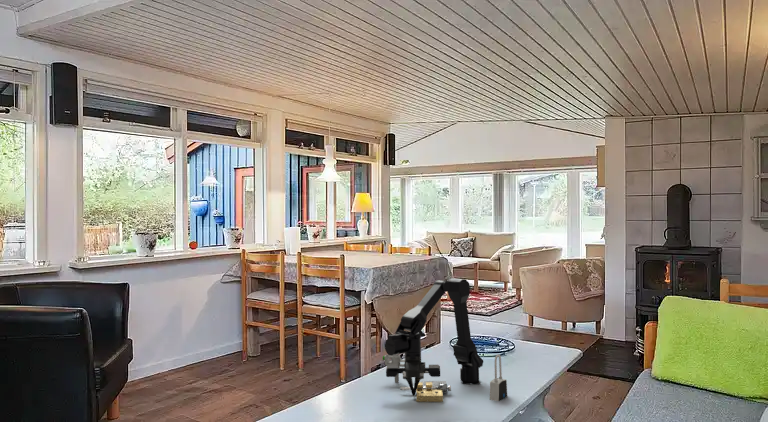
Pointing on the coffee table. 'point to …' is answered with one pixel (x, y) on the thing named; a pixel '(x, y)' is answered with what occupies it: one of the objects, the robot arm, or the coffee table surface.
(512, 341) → the coffee table surface
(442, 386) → the fixed leaf
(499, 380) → the padlock
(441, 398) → the loose leaf
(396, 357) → the mechanical component
